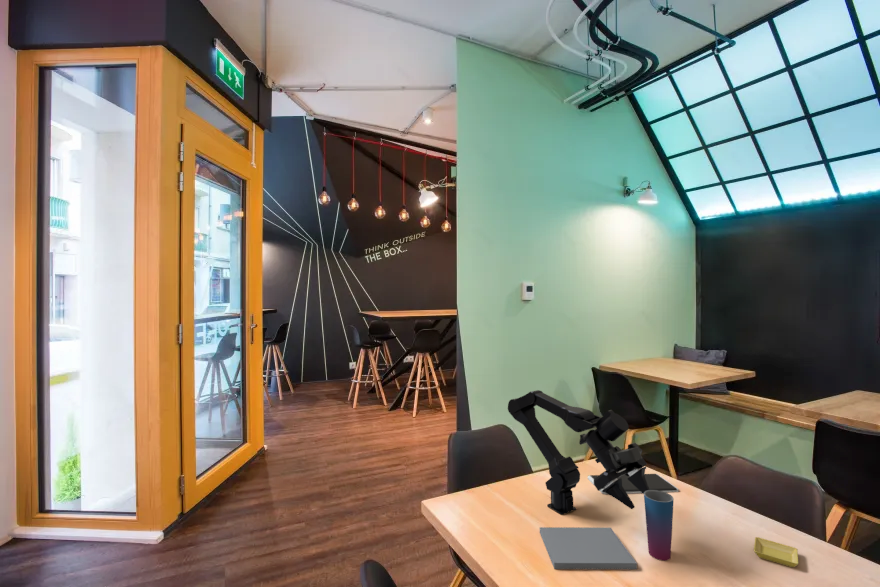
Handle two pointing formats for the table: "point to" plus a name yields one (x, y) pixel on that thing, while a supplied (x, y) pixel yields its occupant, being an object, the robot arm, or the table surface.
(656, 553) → the cup
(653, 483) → the black tablet
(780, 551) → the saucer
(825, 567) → the table surface
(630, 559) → the board
